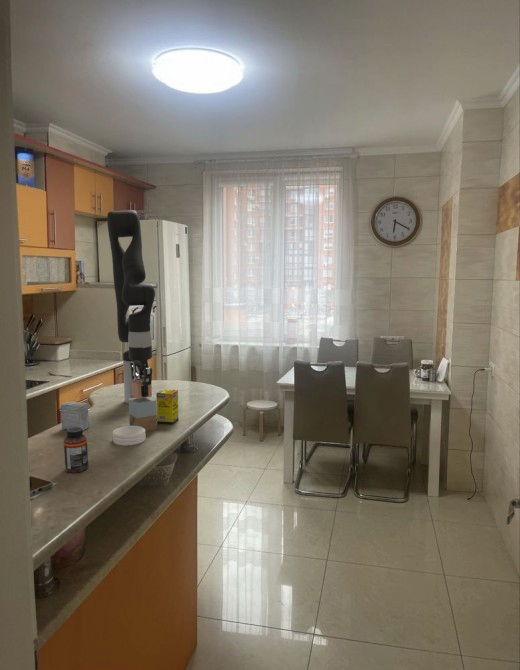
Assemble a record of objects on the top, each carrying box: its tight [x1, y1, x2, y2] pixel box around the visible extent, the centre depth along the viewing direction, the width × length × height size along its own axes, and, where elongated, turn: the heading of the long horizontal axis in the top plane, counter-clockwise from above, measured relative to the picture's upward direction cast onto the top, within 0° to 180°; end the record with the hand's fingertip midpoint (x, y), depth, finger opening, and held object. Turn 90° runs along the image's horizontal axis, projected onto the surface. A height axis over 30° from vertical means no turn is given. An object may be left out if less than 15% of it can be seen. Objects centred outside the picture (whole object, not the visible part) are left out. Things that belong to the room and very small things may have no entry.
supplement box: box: [155, 388, 179, 425], centre depth 184 cm, size 6×6×11 cm
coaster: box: [112, 425, 147, 447], centre depth 166 cm, size 10×10×4 cm
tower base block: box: [128, 412, 158, 432], centre depth 178 cm, size 7×7×5 cm
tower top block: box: [128, 397, 157, 418], centre depth 177 cm, size 7×7×5 cm
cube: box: [131, 380, 153, 399], centre depth 176 cm, size 5×5×5 cm
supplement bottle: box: [63, 427, 89, 474], centre depth 143 cm, size 6×6×11 cm
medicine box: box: [60, 401, 90, 432], centre depth 177 cm, size 8×4×9 cm, turn 71°
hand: (141, 394), depth 176 cm, fingers closed on cube, 4 cm apart
